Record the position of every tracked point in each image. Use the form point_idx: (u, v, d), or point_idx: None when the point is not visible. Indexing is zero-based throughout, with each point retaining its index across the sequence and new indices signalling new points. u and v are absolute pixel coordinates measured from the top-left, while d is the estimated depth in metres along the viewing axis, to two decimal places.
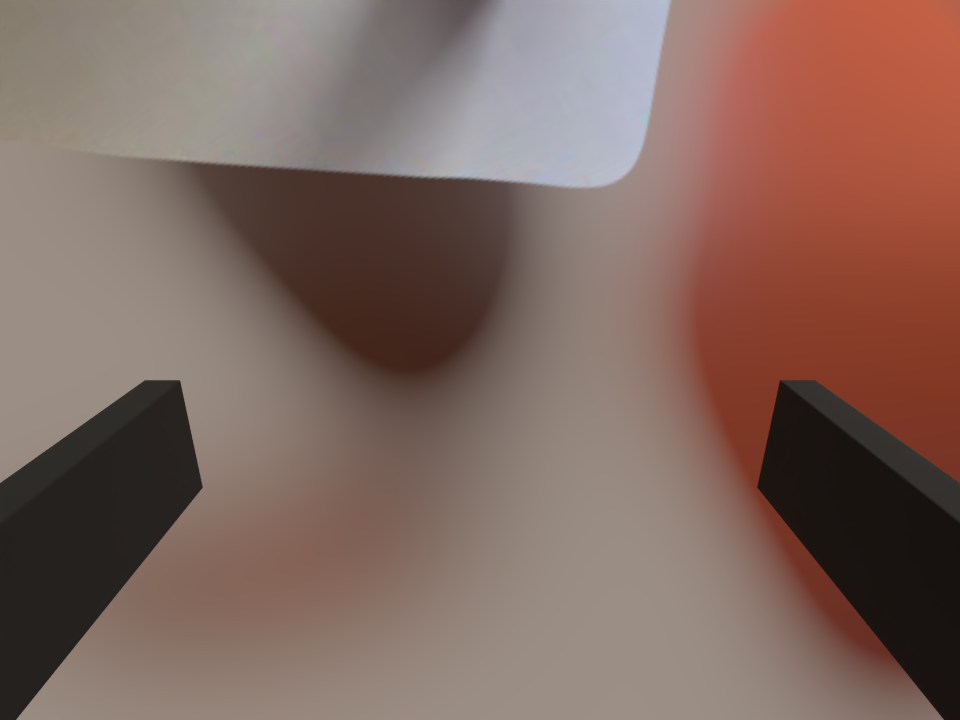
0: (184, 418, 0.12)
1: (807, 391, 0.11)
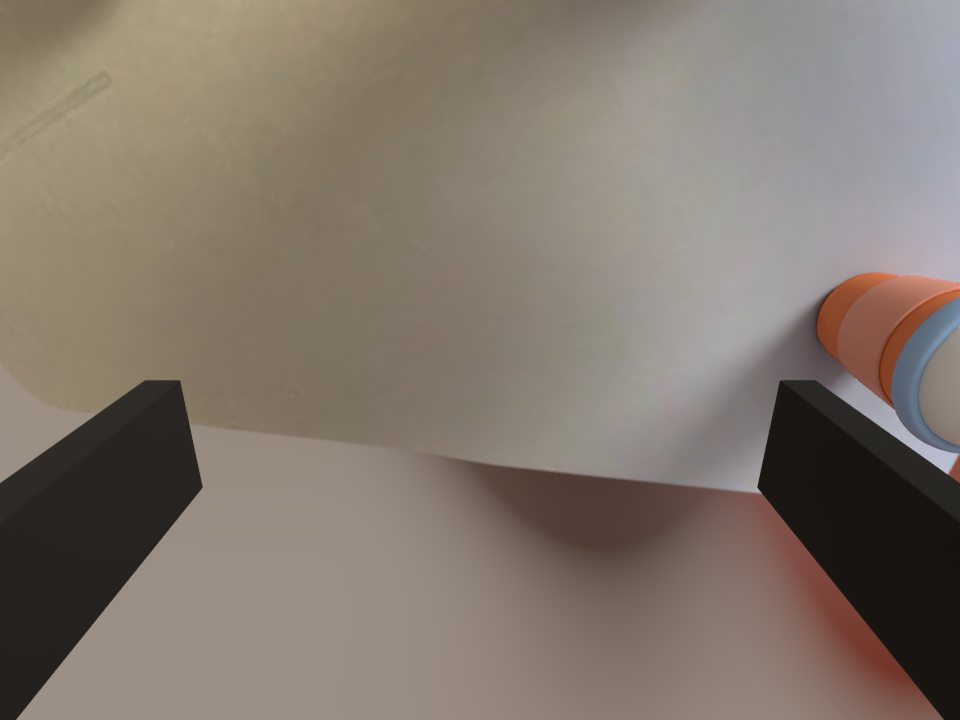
0: (184, 418, 0.12)
1: (807, 391, 0.11)
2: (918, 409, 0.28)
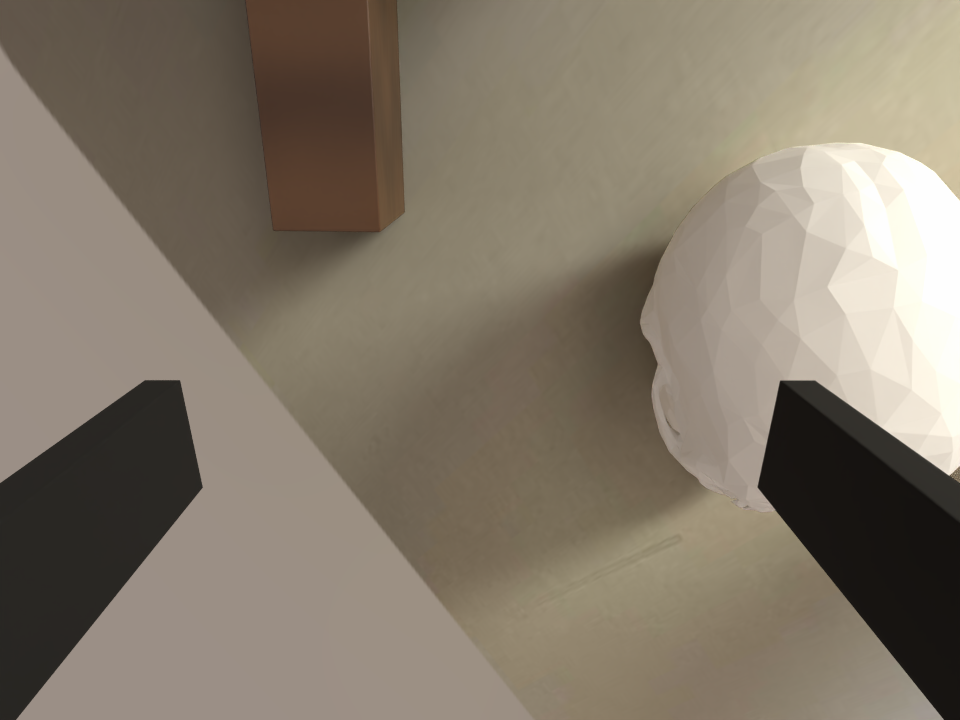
0: (184, 418, 0.12)
1: (807, 391, 0.11)
2: None
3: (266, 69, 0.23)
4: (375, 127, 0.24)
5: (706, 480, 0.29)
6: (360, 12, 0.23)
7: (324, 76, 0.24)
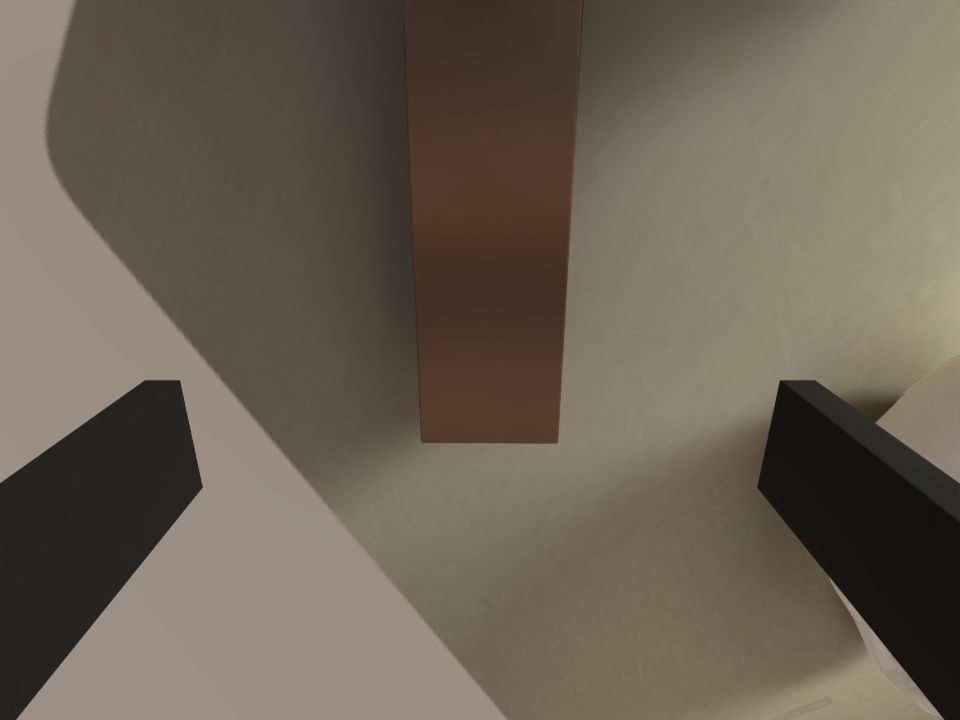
0: (184, 418, 0.12)
1: (807, 391, 0.11)
2: None
3: (430, 261, 0.18)
4: (564, 325, 0.19)
5: None
6: (561, 193, 0.17)
7: (505, 268, 0.18)
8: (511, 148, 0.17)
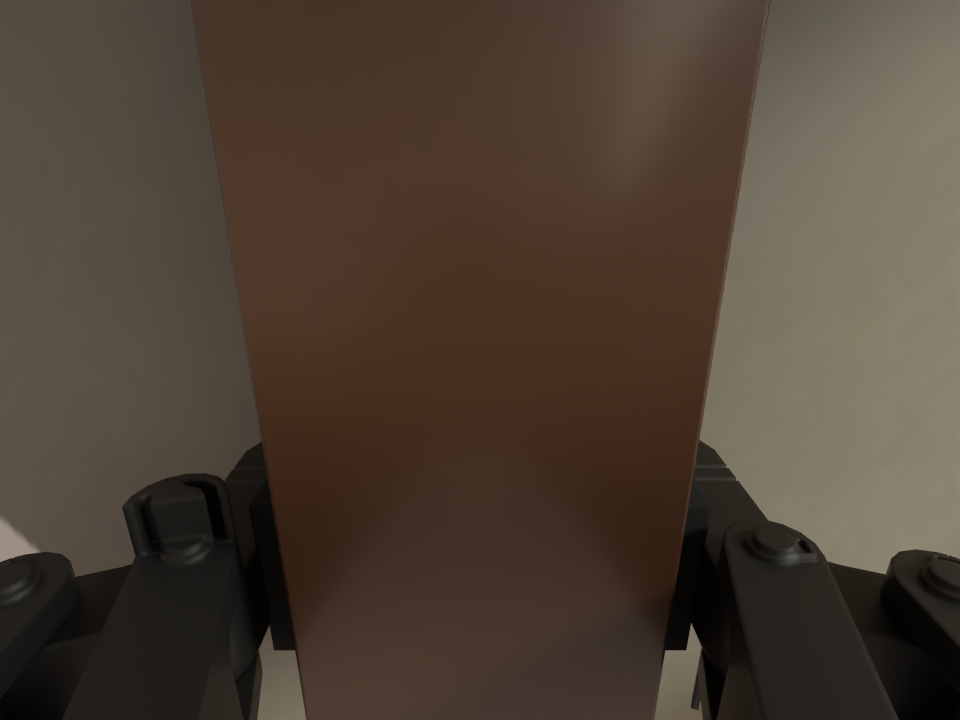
0: None
1: None
2: None
3: (311, 463, 0.06)
4: None
5: None
6: (693, 283, 0.06)
7: (519, 482, 0.07)
8: (544, 146, 0.05)
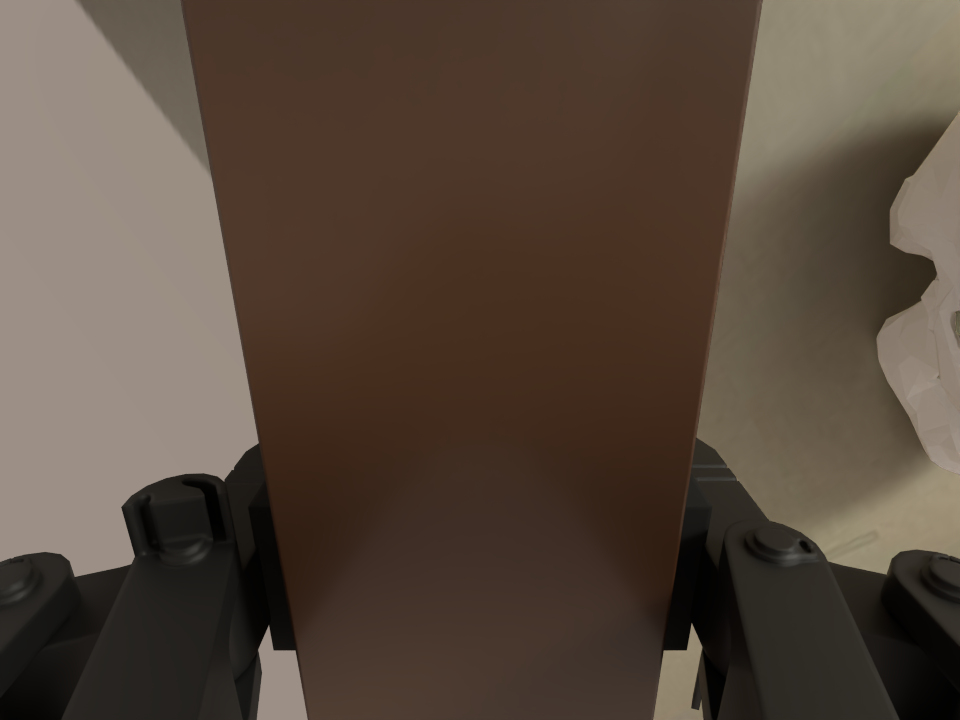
0: None
1: None
2: None
3: (308, 462, 0.06)
4: None
5: None
6: (688, 279, 0.06)
7: (516, 478, 0.07)
8: (538, 143, 0.05)
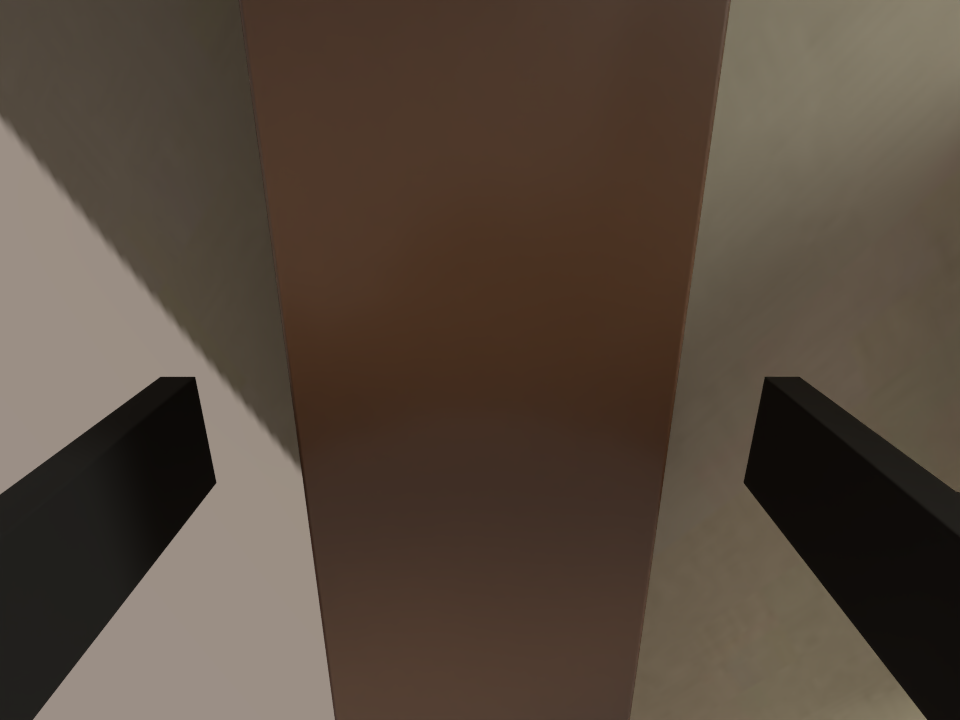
0: (198, 414, 0.12)
1: (791, 387, 0.12)
2: None
3: (336, 419, 0.07)
4: None
5: None
6: (667, 259, 0.07)
7: (518, 436, 0.07)
8: (539, 141, 0.06)
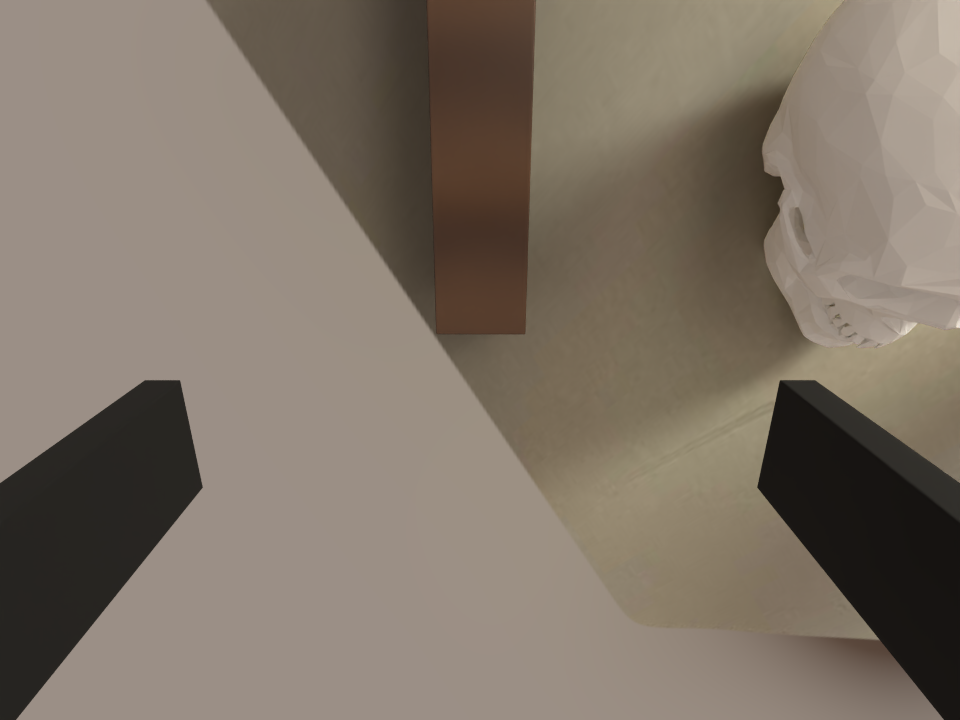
0: (184, 419, 0.12)
1: (807, 391, 0.11)
2: None
3: (443, 212, 0.29)
4: (527, 254, 0.30)
5: (840, 295, 0.30)
6: (523, 169, 0.28)
7: (489, 217, 0.29)
8: (493, 142, 0.28)
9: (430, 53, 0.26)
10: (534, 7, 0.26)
